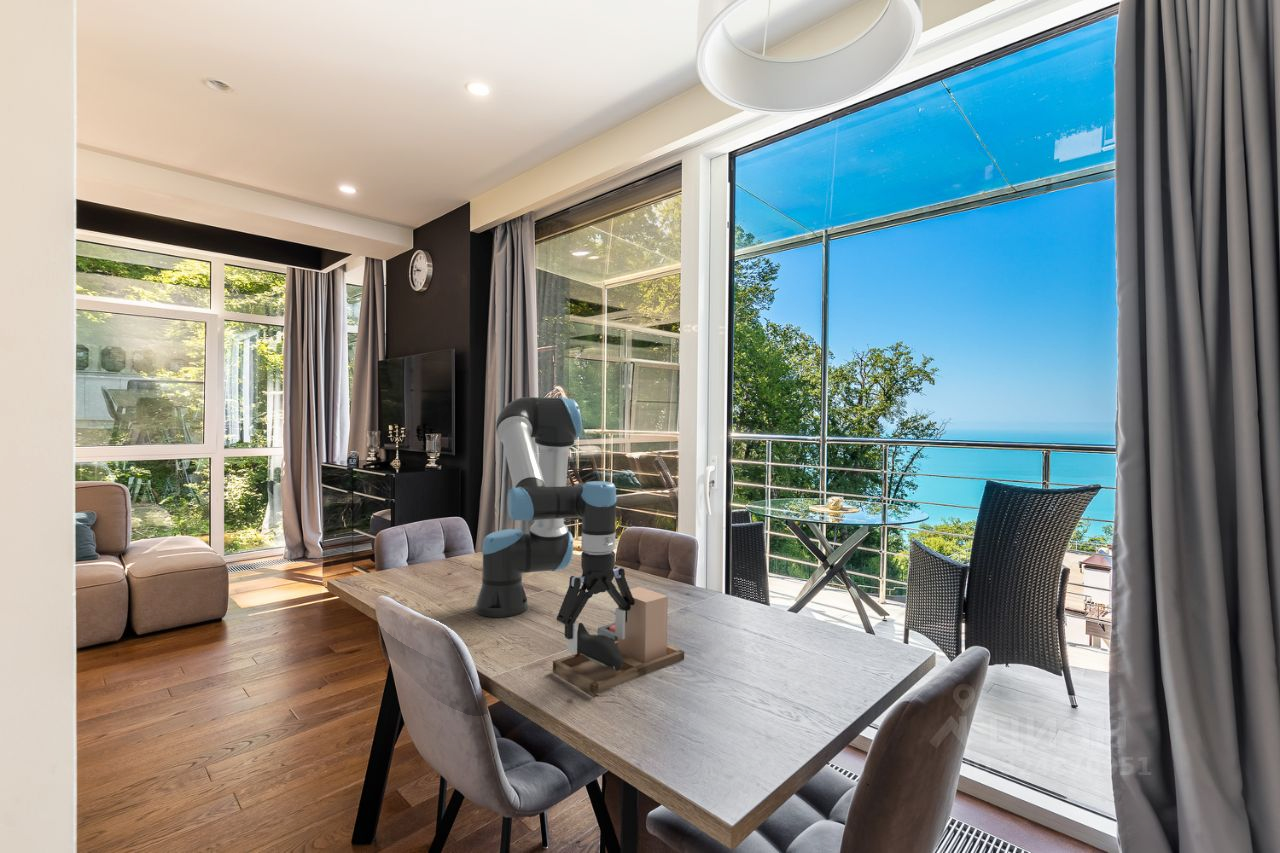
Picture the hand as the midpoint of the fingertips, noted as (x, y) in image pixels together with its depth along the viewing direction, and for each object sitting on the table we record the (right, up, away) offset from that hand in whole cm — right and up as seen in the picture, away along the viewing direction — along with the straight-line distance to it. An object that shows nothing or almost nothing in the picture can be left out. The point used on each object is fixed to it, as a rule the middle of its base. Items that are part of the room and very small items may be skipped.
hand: (596, 644), depth 130 cm
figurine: (+1, -5, -1) cm, 5 cm away
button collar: (+4, -7, +20) cm, 22 cm away
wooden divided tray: (+5, -7, +4) cm, 10 cm away
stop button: (+4, -6, +20) cm, 22 cm away
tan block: (+10, -6, +9) cm, 15 cm away
